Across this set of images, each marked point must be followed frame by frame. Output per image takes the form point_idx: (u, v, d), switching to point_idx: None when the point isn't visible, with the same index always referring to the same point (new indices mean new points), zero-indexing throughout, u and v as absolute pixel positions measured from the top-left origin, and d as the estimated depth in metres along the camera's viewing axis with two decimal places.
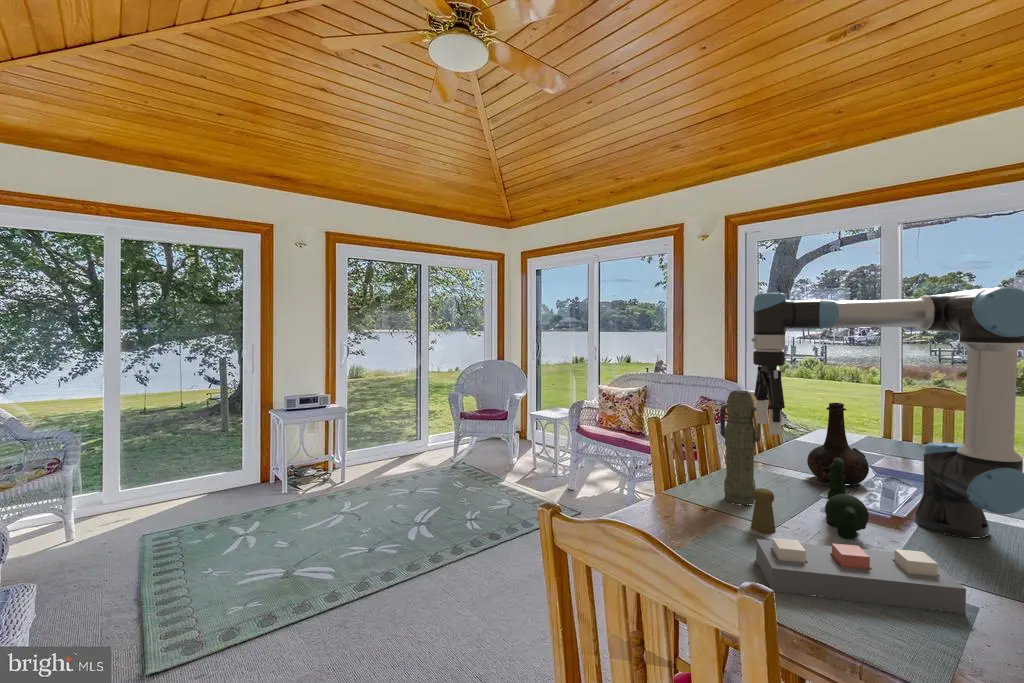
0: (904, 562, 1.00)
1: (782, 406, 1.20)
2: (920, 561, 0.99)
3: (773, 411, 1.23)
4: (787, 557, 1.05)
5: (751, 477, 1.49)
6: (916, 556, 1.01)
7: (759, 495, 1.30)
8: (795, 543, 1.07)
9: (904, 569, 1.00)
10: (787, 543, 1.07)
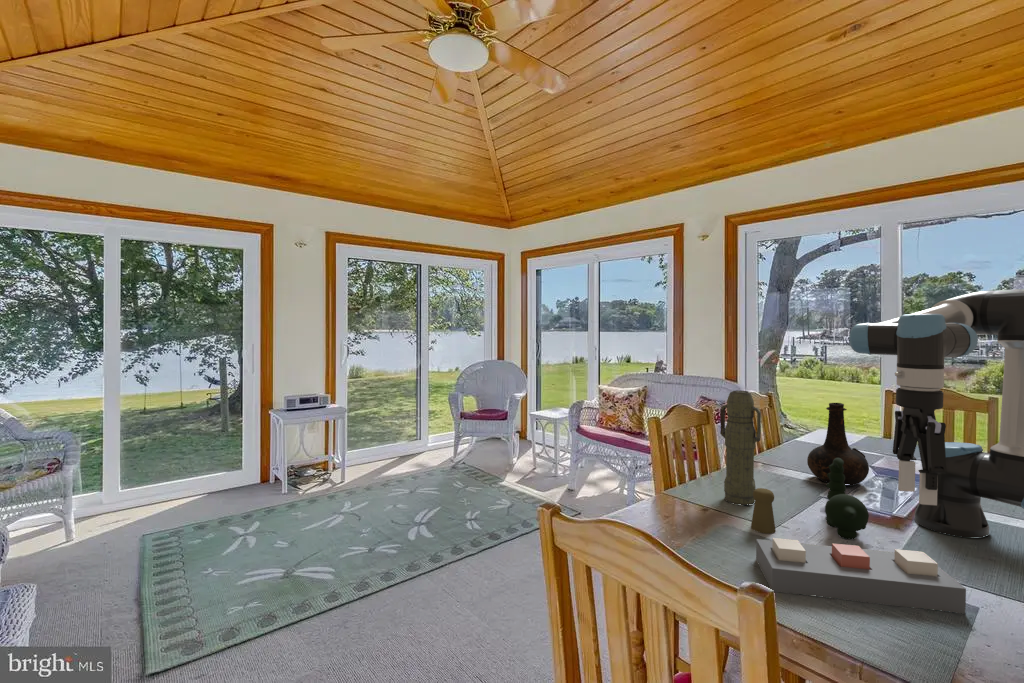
0: (904, 562, 1.00)
1: (943, 472, 0.93)
2: (920, 561, 0.99)
3: (927, 475, 0.96)
4: (787, 557, 1.05)
5: (751, 477, 1.49)
6: (916, 556, 1.01)
7: (759, 495, 1.30)
8: (795, 543, 1.07)
9: (904, 569, 1.00)
10: (787, 543, 1.07)
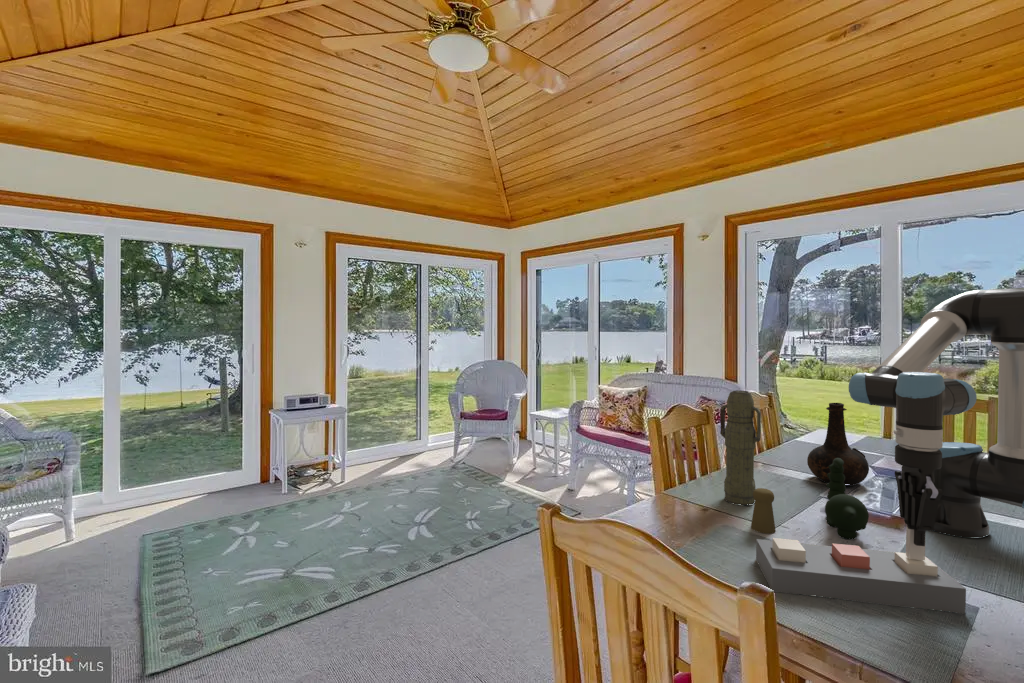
0: (904, 565, 1.00)
1: (930, 530, 0.97)
2: (920, 564, 0.99)
3: (915, 532, 1.00)
4: (787, 557, 1.05)
5: (751, 477, 1.49)
6: None
7: (759, 495, 1.30)
8: (795, 543, 1.07)
9: None
10: (787, 543, 1.07)
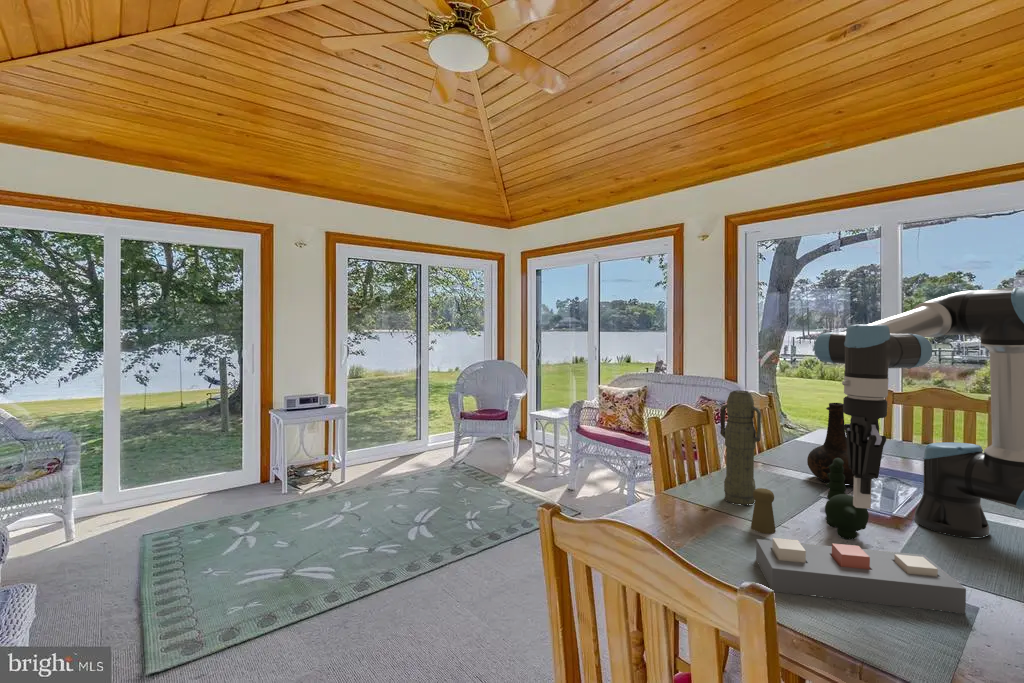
0: (904, 567, 1.00)
1: (875, 477, 0.99)
2: (920, 566, 0.99)
3: (861, 480, 1.01)
4: (787, 557, 1.05)
5: (751, 477, 1.49)
6: (916, 561, 1.01)
7: (759, 495, 1.30)
8: (795, 543, 1.07)
9: None
10: (787, 543, 1.07)
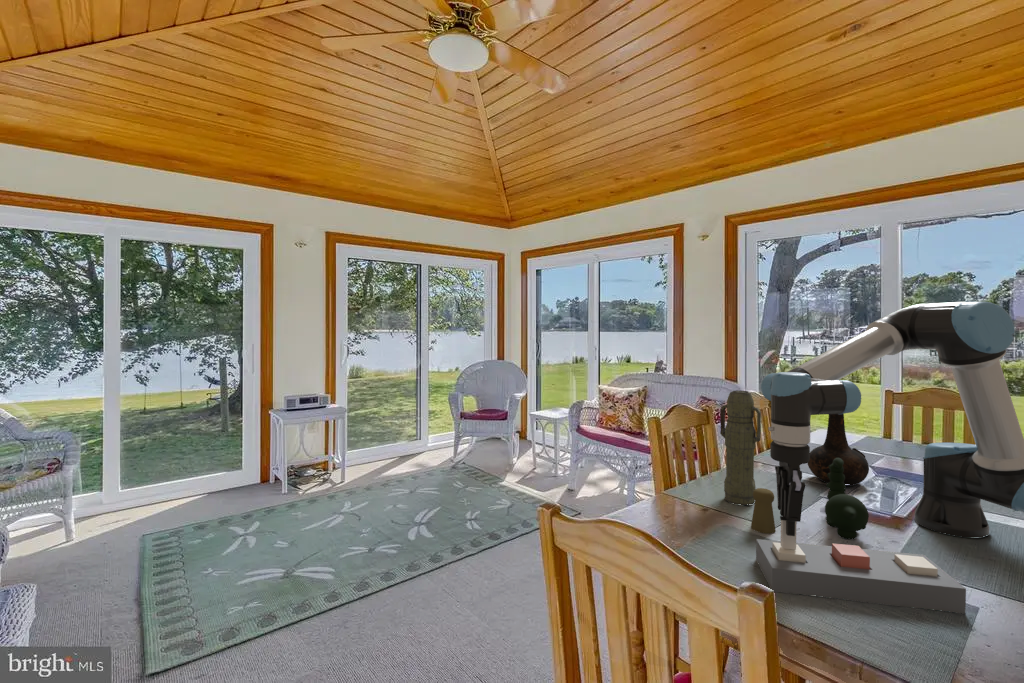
0: (904, 567, 1.00)
1: (797, 521, 1.03)
2: (920, 566, 0.99)
3: (787, 522, 1.06)
4: None
5: (751, 477, 1.49)
6: (916, 561, 1.01)
7: (759, 495, 1.30)
8: None
9: None
10: None
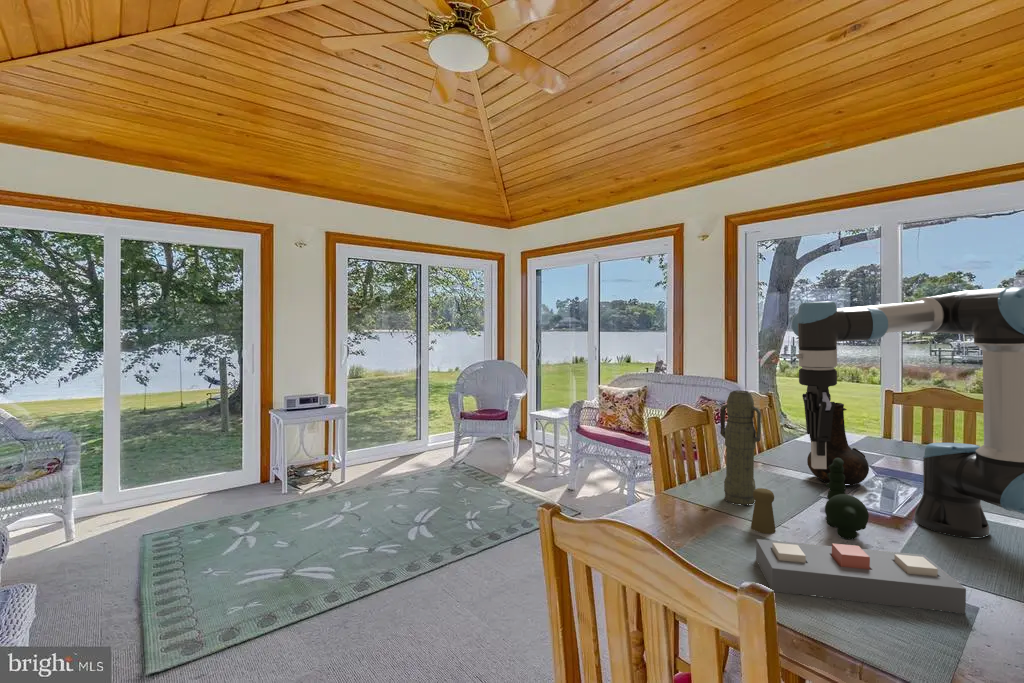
0: (904, 567, 1.00)
1: (828, 440, 1.09)
2: (920, 566, 0.99)
3: (817, 443, 1.11)
4: None
5: (751, 477, 1.49)
6: (916, 561, 1.01)
7: (759, 495, 1.30)
8: (795, 548, 1.07)
9: None
10: (787, 547, 1.07)
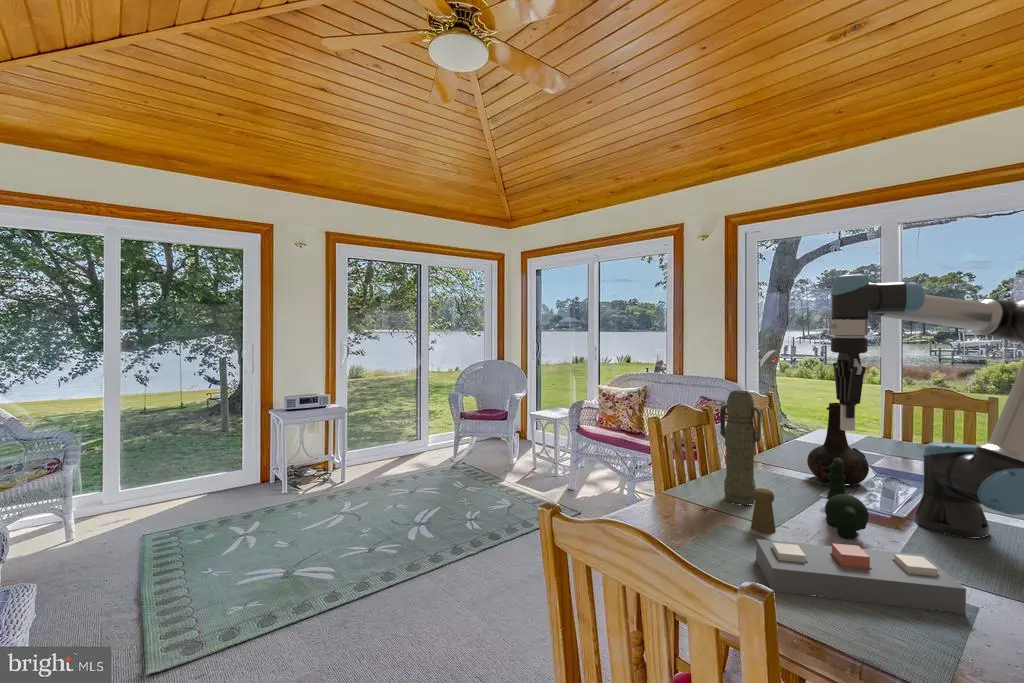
0: (904, 567, 1.00)
1: (857, 403, 1.18)
2: (920, 566, 0.99)
3: (847, 407, 1.20)
4: None
5: (751, 477, 1.49)
6: (916, 561, 1.01)
7: (759, 495, 1.30)
8: (795, 548, 1.07)
9: None
10: (787, 547, 1.07)
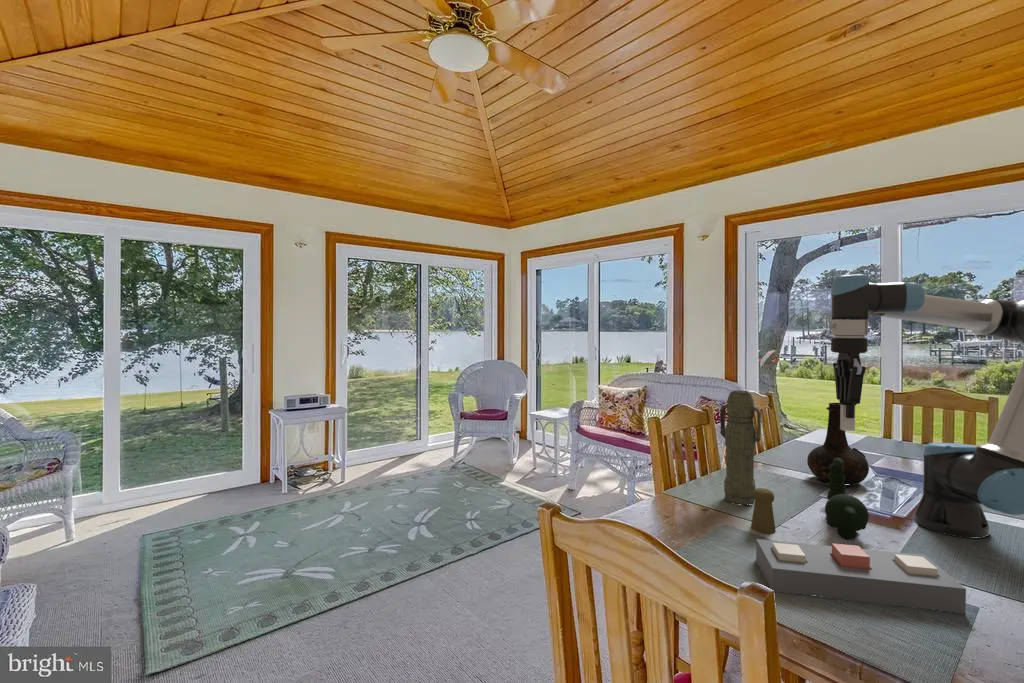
0: (904, 567, 1.00)
1: (857, 403, 1.18)
2: (920, 566, 0.99)
3: (847, 407, 1.20)
4: None
5: (751, 477, 1.49)
6: (916, 561, 1.01)
7: (759, 495, 1.30)
8: (795, 548, 1.07)
9: None
10: (787, 547, 1.07)
